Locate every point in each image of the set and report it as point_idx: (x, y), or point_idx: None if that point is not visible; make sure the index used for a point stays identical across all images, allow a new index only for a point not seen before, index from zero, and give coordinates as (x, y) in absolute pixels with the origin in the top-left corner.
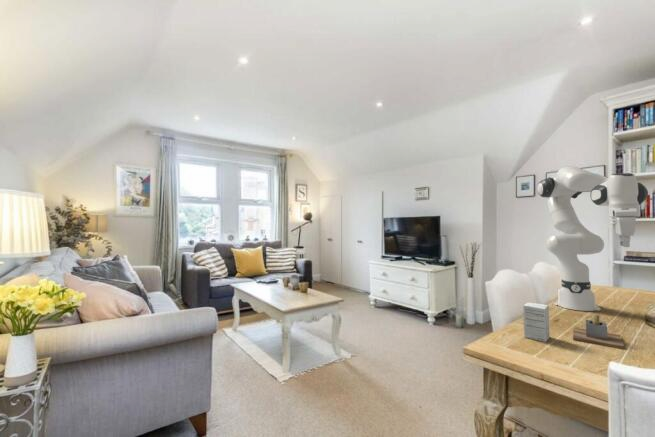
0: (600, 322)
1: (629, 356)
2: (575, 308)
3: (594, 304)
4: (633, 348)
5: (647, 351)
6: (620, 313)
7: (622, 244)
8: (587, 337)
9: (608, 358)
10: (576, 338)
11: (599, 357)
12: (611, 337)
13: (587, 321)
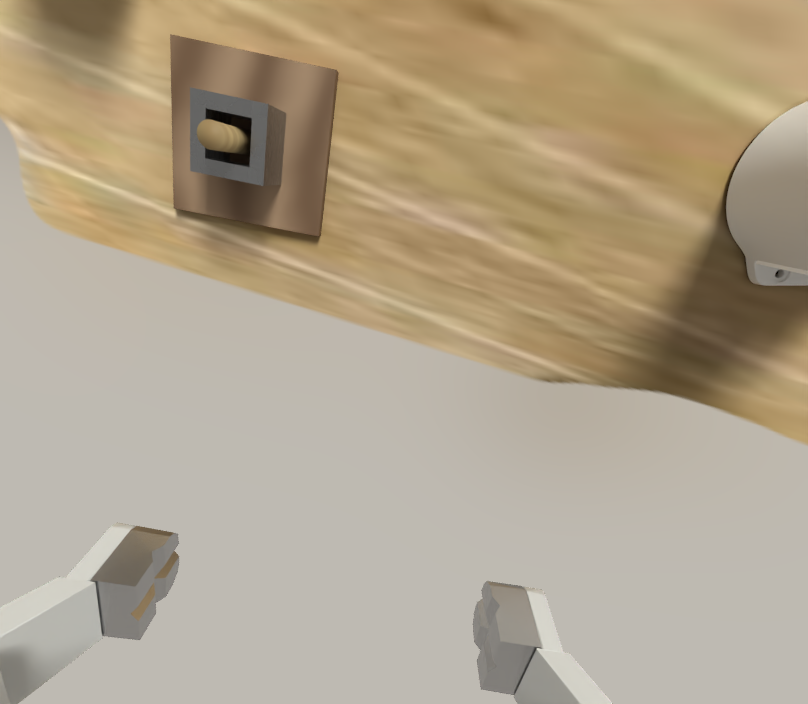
0: (251, 161)
1: (109, 200)
2: (744, 165)
3: (772, 263)
4: (209, 240)
5: (203, 271)
6: (716, 347)
7: (485, 607)
8: None
9: (35, 125)
10: (171, 49)
11: (22, 95)
12: (265, 196)
13: (236, 104)
